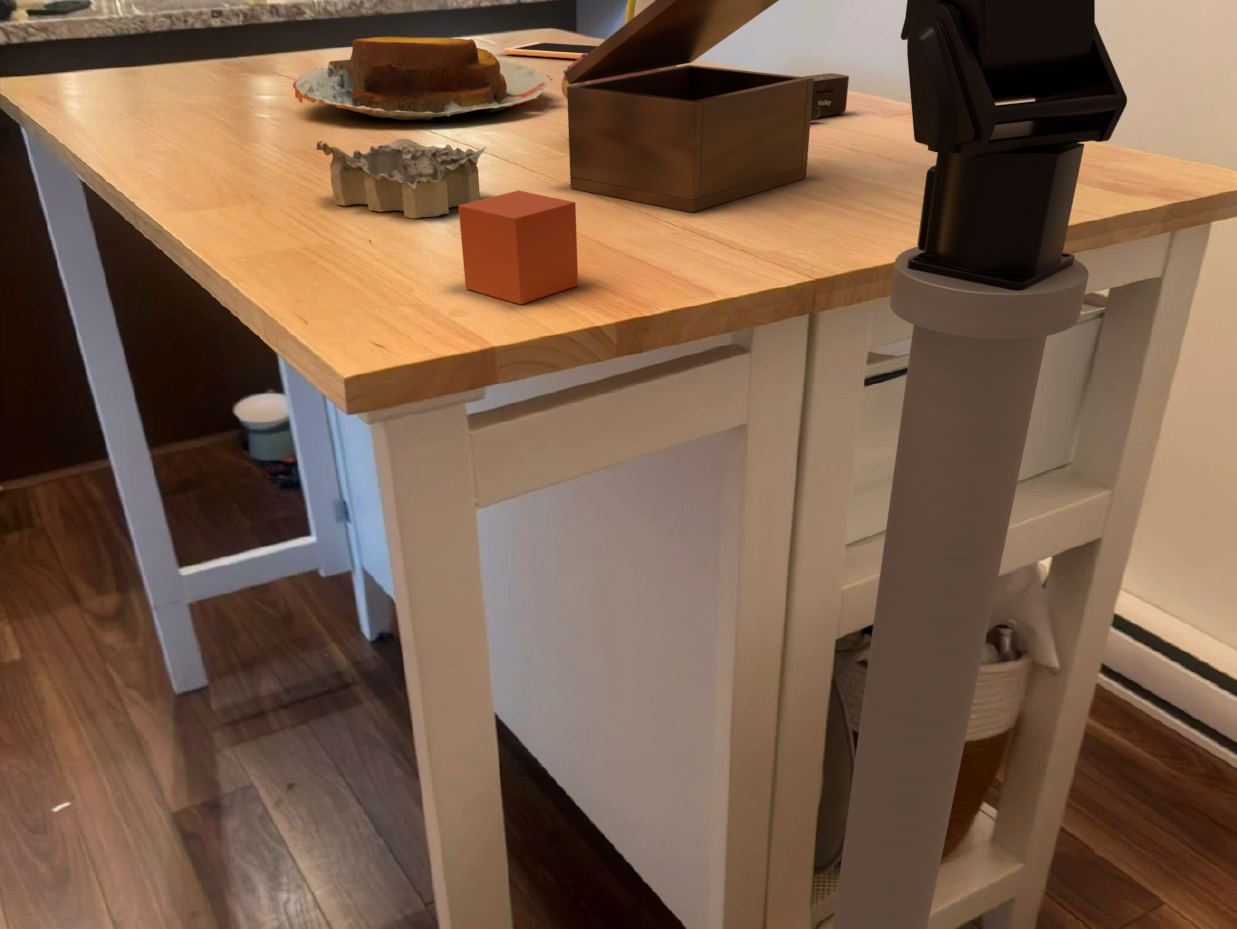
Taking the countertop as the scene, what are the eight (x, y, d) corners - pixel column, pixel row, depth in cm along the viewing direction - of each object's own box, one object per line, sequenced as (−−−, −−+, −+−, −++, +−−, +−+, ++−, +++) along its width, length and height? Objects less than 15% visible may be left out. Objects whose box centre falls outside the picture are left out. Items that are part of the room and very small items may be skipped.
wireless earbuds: (770, 118, 107) (773, 80, 105) (828, 110, 110) (831, 72, 108) (804, 125, 103) (806, 86, 102) (862, 117, 107) (866, 78, 105)
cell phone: (608, 61, 139) (608, 55, 139) (502, 54, 146) (501, 48, 146) (641, 53, 144) (641, 48, 144) (536, 47, 151) (536, 41, 151)
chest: (806, 178, 86) (814, 77, 82) (692, 212, 78) (695, 103, 74) (686, 158, 92) (688, 64, 89) (570, 188, 84) (566, 86, 80)
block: (578, 285, 64) (575, 202, 62) (520, 305, 62) (515, 218, 59) (523, 271, 67) (518, 190, 64) (465, 288, 64) (457, 205, 62)
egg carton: (317, 203, 82) (307, 141, 79) (394, 183, 87) (387, 124, 84) (422, 223, 76) (415, 157, 74) (498, 201, 81) (494, 139, 79)
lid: (814, -25, 79) (810, -38, 79) (690, -11, 71) (685, -25, 70) (690, 63, 88) (686, 52, 88) (568, 85, 80) (563, 73, 80)
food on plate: (551, 84, 125) (548, 16, 122) (556, 127, 105) (553, 47, 101) (317, 89, 124) (307, 20, 120) (276, 133, 104) (262, 52, 100)
